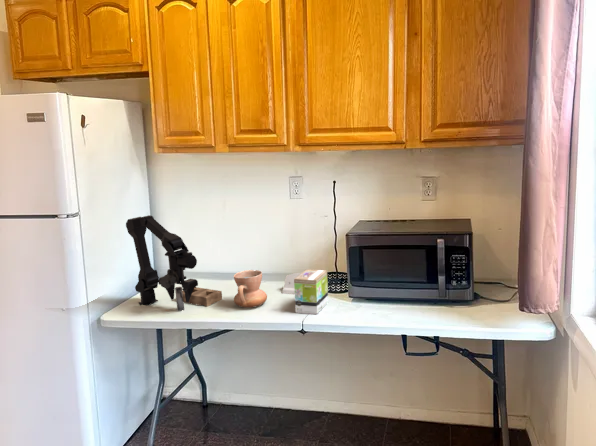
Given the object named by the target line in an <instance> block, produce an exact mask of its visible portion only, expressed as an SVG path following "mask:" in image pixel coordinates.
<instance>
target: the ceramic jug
mask: <svg viewBox="0 0 596 446" xmlns="http://www.w3.org/2000/svg"><path fill="white" fill-rule="evenodd" d="M233 279H234V282H235V284H236V287H237V293H236V294H235V296H234V297H233V302H234V304H235V305H236V306H238V307H240V308H247V309H248V308H256V307H260V306H261V305H263V304H265V302H267V299H268V295H267V293H266V292H265V291H264V290H262V289H261V288H260V286H261V284H262V281H263V280H262V279H263V271H262V270H259V269H258V270H257V269H256V270H254V269H246V270H242V271H238V272H236V273H235V274H234V275H233Z"/></svg>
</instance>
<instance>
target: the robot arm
mask: <svg viewBox="0 0 596 446" xmlns="http://www.w3.org/2000/svg"><path fill="white" fill-rule="evenodd" d="M125 228H126V230H127V233H128V234H129V236H130V237H131V238H132V240H133V243H134V248H135V251H136V252H135V253H136V257H137V262H138V265H139V266H138V267H139V272H138V275H137V278H138V279H137V280H138V281H137V282H136V285H135V287H134V288H135V292H137V293H139V295H140V301H139V302H138V304H140V305H143V306H149V305H152V304H155V303H157V302H159V299H157V298H156V292H155V289H156V288H158V285H159V286H161V287H162V288H164V289H165V290H166V291H167V294H168V296H169V298H170V300H171V301H173V300H175V288H176V285H181V287H182V291H184V292H185V299H186V302H187V303H186V304H189V303H188V302H189V300H190V297H191V294H192V292H193V290H194V288H195V287H198V286H199V280H197V279H195V278H188V279H187V276H186V275H185V272H184V271H186V269H190V270H193V269H195V267H197V263H198V260H197V259H198V258H196V256H195V255H194V254H193V252H192V251H189V248H188V247H187V245H186V244H185V241H184V240H183V238H182V237H181V236H179V235H177V234H176V233H172V232H169V231H168V230H167V229H166V228H165V227H164V226H163V225H162V224H160V223H159V222H158V221H157V220H156V219H155V217H154V216H153V215H144V216H137V217H133V218H129V219H127V220H126V222H125ZM147 229H148V230H149V231H150V232H151V233H152V234H153V235H154V236H155V237H156V238H158V239H159V241H161V246H162V247H163V248H164V250H165V251H166V252H165V254H164V256H165V257H167V258H168V268H169V269H167V271H166V272H167V273H166V274H165V275H164V276H159V274H158V270H157V269H154V268H153V267H152V264H151V259H150V255H149V250H148V246H147V241H146V236H145V235H146V233H147Z"/></svg>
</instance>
